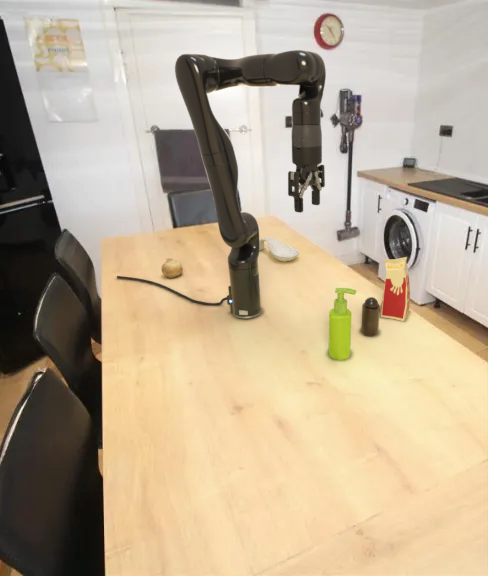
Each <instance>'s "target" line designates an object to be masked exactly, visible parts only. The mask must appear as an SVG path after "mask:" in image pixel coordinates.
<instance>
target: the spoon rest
mask: <svg viewBox="0 0 488 576" xmlns="http://www.w3.org/2000/svg"><path fill="white" fill-rule="evenodd" d="M265 242H266V243H267V245H268V249H269V251H270V253H271V255H272V257H273V258H274V259H275V260H277V261H279V262H283V263H285V262H290V261H293V260H295V259H296V258H297V257H298V256H299V254H300V251H299V250H298V249H297V248H295V247H293V246H291V245H289V244H287V243H285V242H282V241H280V240H279V239H278V240H277V239H275V238H274V237H270V236H266V237H264V238H259V247H260V251H262V250H264V249H265Z"/></svg>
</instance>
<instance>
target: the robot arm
mask: <svg viewBox="0 0 488 576" xmlns="http://www.w3.org/2000/svg"><path fill="white" fill-rule="evenodd" d="M174 75H175V79H176V82H177V86H178V89H179V92H180V94H181V97H182V100H183V103H184V105H185V106H186V110H187V113H188V115H189V118H190V120H191V125H192V128H193V131H194V134H195V137H196V142H197V145H198V148H199V153H200V155H201V160H202V164H203V166H204V170H205V174H206V176H207V180H208V183H209V187H210V191H211V196H212V199H213V202H214V208H215V213H216V219H217V224H218V230H219V234H220V237H221V239H222V241H223V242H224V243H225V244H226V245H227V246H228V247H230V248H231V249H230V252H229V254H228V256H227V268H228V275H229V286H228V287H227V289H228V294H227V295H226V297H223V298H222V299H221V300H220V301H219V302H207V301H201V300H196V299H194V298H191V297H190V296H187V295H185V294H182V293H181V292H179V291H177V290H174V289H172V288H170V287H168V286H166V285H164V284H161V283H159V282H155V281H152V280H147V279H144V278H139V277H138V278H137V277H131V276H121V275H117V276H116V278H117V279H122V280H131V281H137V282H143V283H147V284H151V285H155V286H157V287H160V288H162V289H165V290H167V291H169V292H171V293H173V294H175V295H177V296H179V297H180V298H184V299H186V300H187V301H190V302H192V303H194V304H199V305H204V306H213V307H215V306H216V307H217V306H221V305H223V303H224V302H225V301H226V302H227V305H228V306H229V307H230V314H232V315H233V316H234V317H235V318H237V319H240V320H249V319H254V318H256V317H258V316H260V315H261V314H262V312H263V310H262V300H261V285H260V283H261V282H260V272H259V255H260V251H261V250H260V247H259V240H260V228H259V223H258V220H257V219H256V217H255V216H254V215H253V214H252V213H251V212H249V211H244V210H243V211H241V208H240V205H239V198H238V188H239V187H238V186H239V164H238V159H237V154H236V151H235V150H236V149H235V147H234V144H233V141H232V139H231V138H230V135H229V134H228V133H227V131H226V130H225V129H224V127H223V126H222V124H221V123H220V122H219V121H218V119H217V117H216V116H215V114H214V112H213V109H212V107H211V103H210V100H209V96H208V94H213V93H214V92H218V91H221V90H225V89H229V88H235V87H246V88H247V87H248V88H276V87H280V86H281V87H282V86H299V87H298V93H297V97H295V98H294V99H292V103H291V134H290V135H291V136H290V137H291V162H292V164H293V165H295V171H294V170H292V171H291V170H290V171H288V173H287V195H288V197H292V198H293V206H294V207H293V209H294V212H296V213H303V212H304V198H303V197H304V193H305V192H306V191H307V190H308V187H310V188H311V205H313V206H320V204H321V191H322V189H323V188H325V186H326V180H325V179H326V177H325V172H326V171H325V164H322V162H323V133H322V110H321V109H322V107H321V105H322V102H323V101H322V100H323V97H324V90H325V86H326V79H327V78H326V77H327V69H326V64H325V60H324V59H323V57H322V56H321V55H320V54H318V53H317V52H314V51H309V50H303V49H294V50H293V49H292V50H286V51H282V52H279V53H264V54H263V53H262V54H252V55H247V56H244V57H239V58H233V59H231V58H220V57H214V56H211V55H207V54H200V53H199V54H198V53H183V54H181V55H179V56H178V57H177V59H176V60H175V64H174Z"/></svg>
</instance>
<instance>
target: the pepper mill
mask: <svg viewBox="0 0 488 576" xmlns="http://www.w3.org/2000/svg"><path fill="white" fill-rule="evenodd" d="M380 307H381V304H379V301H378V300H377V299H376V298H375V297H373V296H369V297H367V298H366V299H365V301H364V302H363V303H362V306H361V322H360V323H361V325H360V333H361V334H362V335H363V336H366V337H375V336H377V335H378V334H379V327H380Z"/></svg>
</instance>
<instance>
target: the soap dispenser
mask: <svg viewBox="0 0 488 576" xmlns="http://www.w3.org/2000/svg"><path fill="white" fill-rule="evenodd" d="M334 293H335V294H336V297H337V298H335V299H334V300H333V308H331V309H330V310H329V312H328V355H329V357H330V358H331V359H333V360H338V361H343V360H346V359H348V358H349V357H350V356H351V335H352V334H351V333H352V311H351V310H350V309H348V300H347V299H346V298H345V294H348V295H353V296H355V295H356V294H357V290H356V289H352V288H349V287H335V289H334Z"/></svg>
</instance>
